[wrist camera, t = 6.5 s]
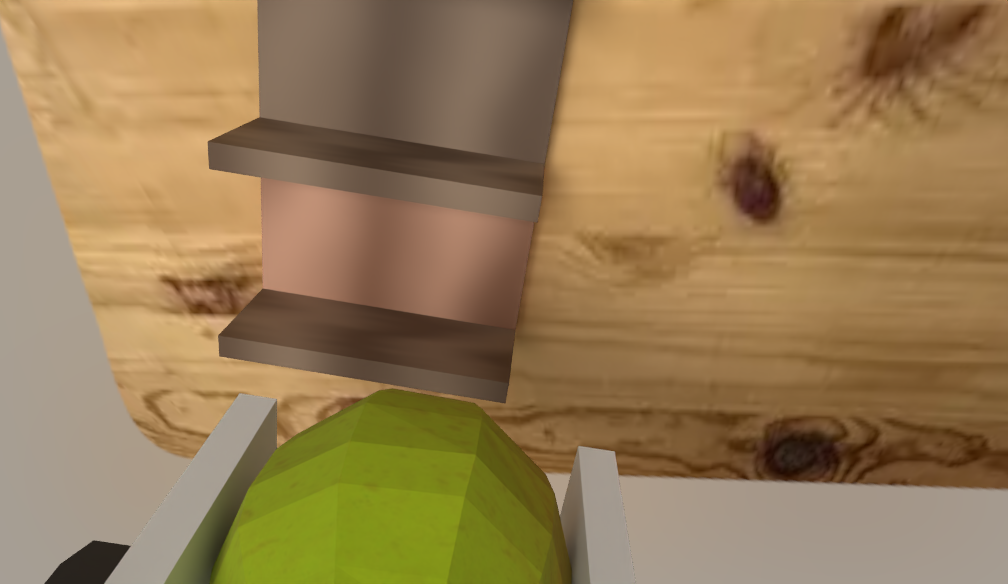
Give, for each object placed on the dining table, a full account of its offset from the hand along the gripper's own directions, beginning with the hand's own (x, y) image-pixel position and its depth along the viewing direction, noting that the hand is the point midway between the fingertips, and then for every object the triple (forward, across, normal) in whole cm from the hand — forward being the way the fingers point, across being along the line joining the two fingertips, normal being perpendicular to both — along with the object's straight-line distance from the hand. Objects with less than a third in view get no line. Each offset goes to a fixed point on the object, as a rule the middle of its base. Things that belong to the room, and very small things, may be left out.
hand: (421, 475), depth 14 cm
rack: (+18, +4, -2) cm, 18 cm away
